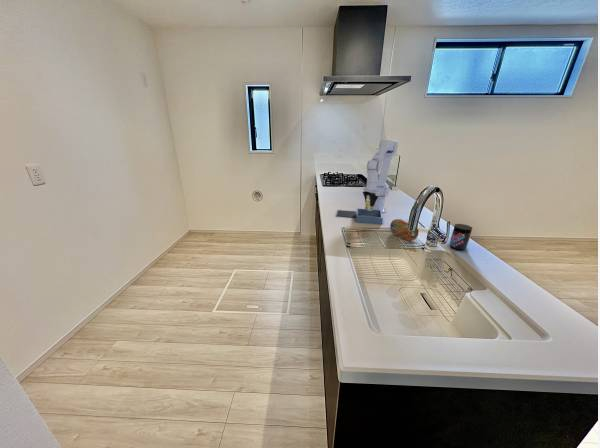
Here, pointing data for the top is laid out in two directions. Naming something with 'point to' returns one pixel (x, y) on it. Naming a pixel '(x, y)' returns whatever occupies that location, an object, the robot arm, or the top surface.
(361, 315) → the top surface
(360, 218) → the crate
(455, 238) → the supplement container
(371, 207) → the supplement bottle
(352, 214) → the mat
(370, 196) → the robot arm
